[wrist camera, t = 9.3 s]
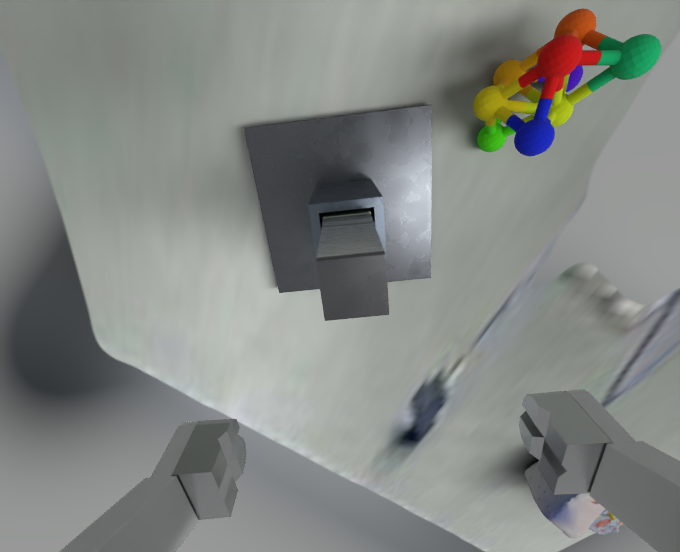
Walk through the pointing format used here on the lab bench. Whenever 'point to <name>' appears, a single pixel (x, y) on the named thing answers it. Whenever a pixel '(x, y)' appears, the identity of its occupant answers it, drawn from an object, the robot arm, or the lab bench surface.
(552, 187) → the lab bench surface
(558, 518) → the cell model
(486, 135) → the molecular model
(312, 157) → the dark grey socket base
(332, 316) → the post
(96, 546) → the robot arm
